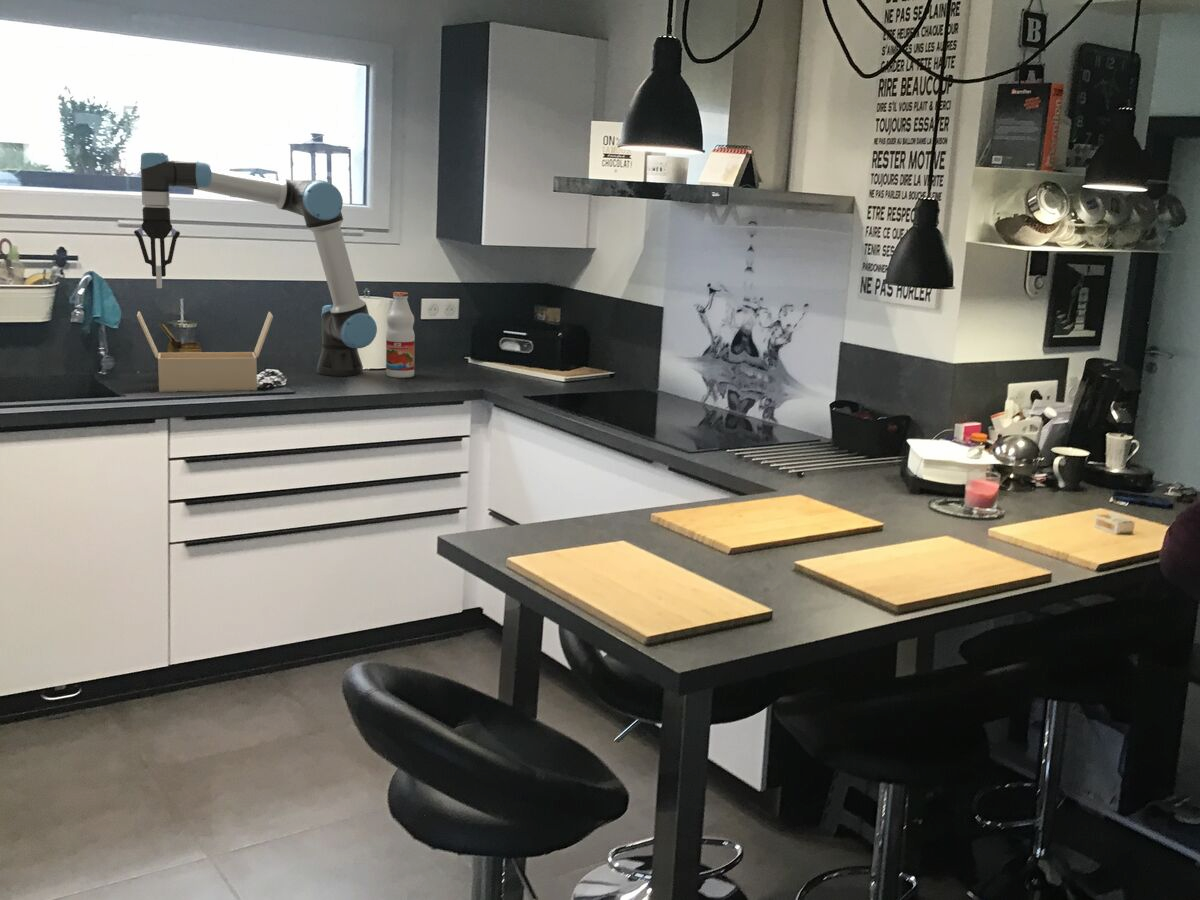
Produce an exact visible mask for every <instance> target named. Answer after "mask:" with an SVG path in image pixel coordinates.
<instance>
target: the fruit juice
mask: <svg viewBox="0 0 1200 900" xmlns="http://www.w3.org/2000/svg"><path fill="white" fill-rule="evenodd" d="M392 296H393V301H392V304H391V307H390V310H389V311H388V314H387V316H386V323H387V331H386V335H385V339H386V341H385V345H386V346H385V347H386V349H385V351H386V353H385V355H386V356H385V357H386V358H385V371H386V376H387V377H391V378H400V379H401V378H403V379H404V378H412V377H414V376H415V357H416V356H415V354H416V353H415V351H416V350H415V339H416V338H415V337H416V335H415V331H414V325H415V316H414V314H413V312H412V310H411V307H410V305H409V304H410V303H409V302H408V298H409V293H408V292H404V291H394V292H392Z"/></svg>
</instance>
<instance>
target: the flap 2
mask: <svg viewBox="0 0 1200 900" xmlns="http://www.w3.org/2000/svg"><path fill="white" fill-rule="evenodd" d="M273 319H274V316H273V314H272V312H271V311H268V312H267V315H266V318H265V320H264V324H263V326H262V329H261V331H260V335H259V336H258V339H257V342H256V346H255V347H254V351H253V352H254V354H255V356H256V358H259V356H260V353H261V351H262V348H263V345H264V343H265V340H266V338H267V336H268V332H269V330H270V326H271V323H272V321H273Z"/></svg>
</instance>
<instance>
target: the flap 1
mask: <svg viewBox="0 0 1200 900" xmlns="http://www.w3.org/2000/svg"><path fill="white" fill-rule="evenodd" d="M136 317H137V320H138V323H139V324H140V327H141V329H142V332H143V333H144V335H145V337H146V339H147V342H148V344H149V346H150V348H151V351H152V353H153V355H154V357H155V358H156V359H158V353H159V351H158V348H157V346H156V344H155V342H154V340H153V338H152V335H151V333H150V330H149V329H148V326H147V324H146V322H145V320H144V318H143V315H142V313H141V311H137V314H136Z"/></svg>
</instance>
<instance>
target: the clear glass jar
mask: <svg viewBox="0 0 1200 900" xmlns="http://www.w3.org/2000/svg"><path fill="white" fill-rule="evenodd" d="M158 324H159V326H160V328H161V330H162V331H163V332H164V333H165V334H166V336H167V337H168V338H169V343H168V345H167V353H175V350H176V349H177V351H176V353H185V352H203V350H202V349H203V348H201V344H200V342H196V341H195V342H191V341H190V342H184V343H182V341H181V340H177V339H176V338H175V336H174V335H173V333H172V332H171V331H170V330H169V328H168V327H167V326H166V325H165V324H164V323H162V322H161V321H159V322H158Z"/></svg>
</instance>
